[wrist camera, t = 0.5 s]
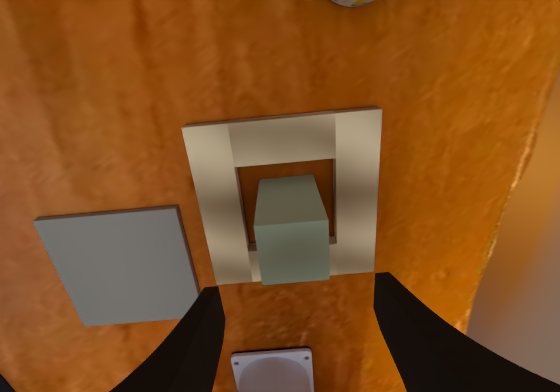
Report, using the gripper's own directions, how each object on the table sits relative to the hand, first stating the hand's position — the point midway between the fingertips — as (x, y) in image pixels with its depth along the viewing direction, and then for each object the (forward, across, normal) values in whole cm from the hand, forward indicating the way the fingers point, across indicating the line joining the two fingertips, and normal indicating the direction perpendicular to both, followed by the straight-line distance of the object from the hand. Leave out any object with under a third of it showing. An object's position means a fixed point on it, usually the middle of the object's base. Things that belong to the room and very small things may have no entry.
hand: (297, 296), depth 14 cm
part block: (+10, 0, 0) cm, 10 cm away
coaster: (+10, +14, +5) cm, 18 cm away
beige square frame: (+10, 0, 0) cm, 10 cm away
